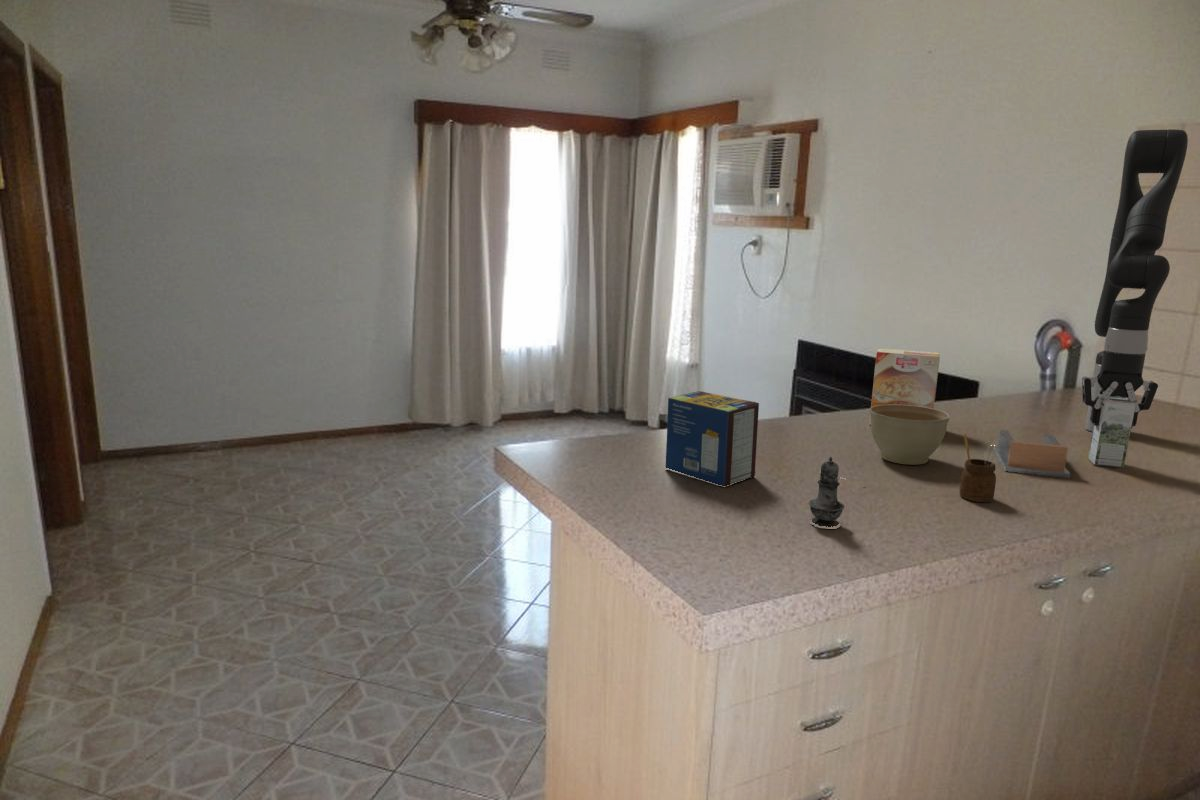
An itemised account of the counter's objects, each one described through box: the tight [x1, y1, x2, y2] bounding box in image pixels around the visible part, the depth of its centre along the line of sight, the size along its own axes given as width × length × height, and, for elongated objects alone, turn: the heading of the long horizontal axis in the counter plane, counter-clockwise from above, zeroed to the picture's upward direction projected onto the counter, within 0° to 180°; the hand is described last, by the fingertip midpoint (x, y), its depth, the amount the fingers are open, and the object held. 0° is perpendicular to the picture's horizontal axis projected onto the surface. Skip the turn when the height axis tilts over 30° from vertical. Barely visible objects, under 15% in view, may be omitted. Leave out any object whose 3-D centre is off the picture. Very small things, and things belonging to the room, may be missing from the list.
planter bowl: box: [869, 404, 950, 466], centre depth 171 cm, size 16×16×11 cm
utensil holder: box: [959, 433, 1000, 503], centre depth 147 cm, size 6×6×12 cm
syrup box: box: [1087, 398, 1135, 469], centre depth 170 cm, size 6×6×14 cm
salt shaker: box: [808, 456, 845, 527], centre depth 132 cm, size 6×6×12 cm
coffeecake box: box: [868, 347, 941, 424], centre depth 200 cm, size 15×7×20 cm, turn 68°
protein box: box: [665, 390, 760, 486], centre depth 158 cm, size 10×15×16 cm
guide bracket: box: [993, 429, 1071, 479], centre depth 171 cm, size 18×12×6 cm, turn 161°
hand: (1111, 426), depth 170 cm, fingers closed on syrup box, 5 cm apart
